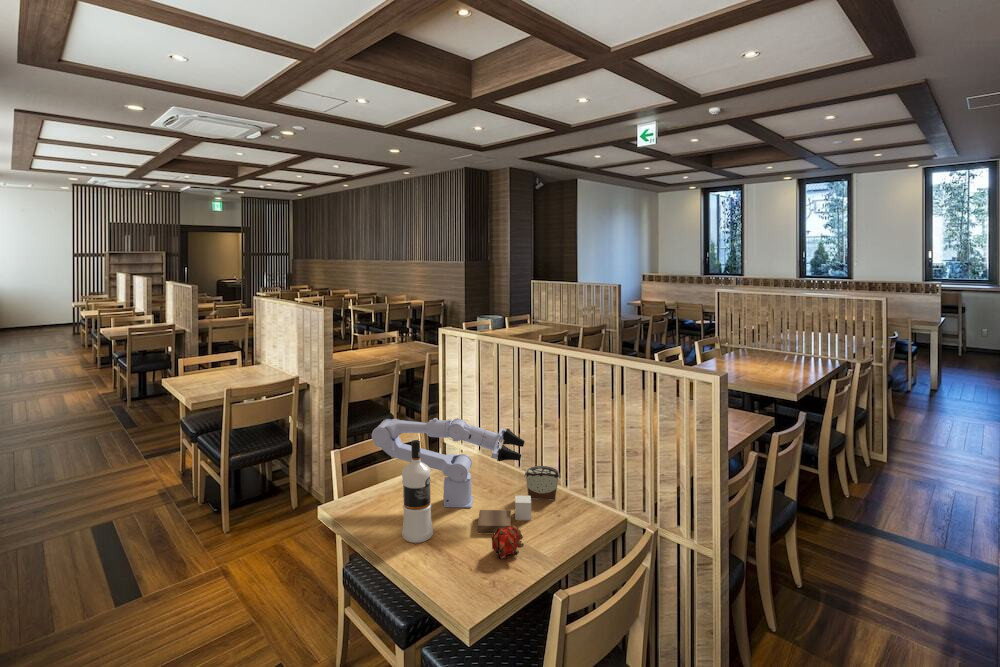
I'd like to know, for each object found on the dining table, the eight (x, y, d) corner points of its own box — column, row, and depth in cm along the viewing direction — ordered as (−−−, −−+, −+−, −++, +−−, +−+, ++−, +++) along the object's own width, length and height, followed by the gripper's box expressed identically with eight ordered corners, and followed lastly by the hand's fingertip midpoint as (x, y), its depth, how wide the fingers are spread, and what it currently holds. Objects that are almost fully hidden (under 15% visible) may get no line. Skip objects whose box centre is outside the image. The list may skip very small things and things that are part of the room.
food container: (559, 492, 191) (560, 465, 190) (559, 500, 185) (560, 473, 184) (524, 490, 192) (525, 464, 191) (524, 498, 186) (524, 471, 185)
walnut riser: (477, 534, 164) (477, 525, 163) (479, 518, 174) (479, 509, 173) (510, 535, 163) (510, 526, 163) (510, 519, 173) (510, 510, 173)
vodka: (414, 525, 168) (412, 433, 164) (439, 532, 164) (437, 438, 159) (395, 539, 160) (393, 443, 155) (420, 547, 156) (418, 448, 151)
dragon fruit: (518, 547, 159) (501, 575, 148) (496, 528, 160) (478, 553, 150) (533, 532, 155) (516, 558, 144) (510, 511, 156) (492, 537, 146)
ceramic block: (515, 520, 172) (515, 502, 171) (515, 512, 177) (515, 495, 176) (530, 520, 172) (531, 502, 171) (530, 512, 177) (530, 495, 176)
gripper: (481, 441, 171) (522, 454, 170) (490, 416, 184) (528, 428, 183) (476, 458, 174) (516, 471, 173) (485, 432, 187) (523, 445, 186)
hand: (522, 450), depth 178 cm, fingers open, 7 cm apart
